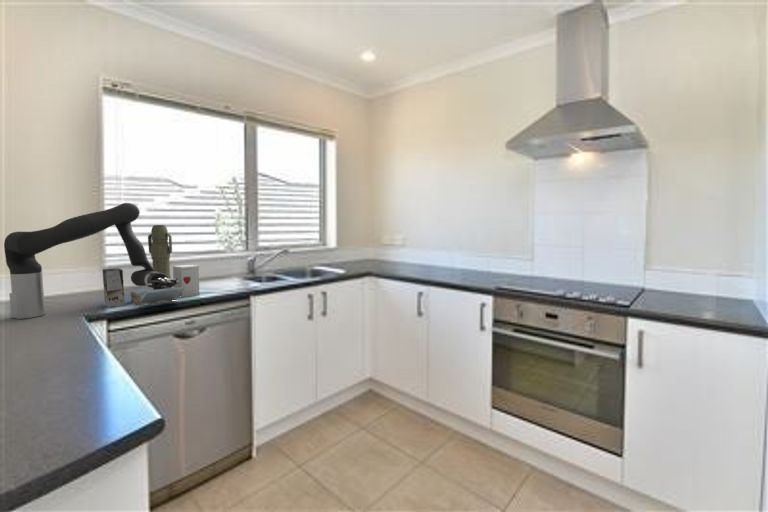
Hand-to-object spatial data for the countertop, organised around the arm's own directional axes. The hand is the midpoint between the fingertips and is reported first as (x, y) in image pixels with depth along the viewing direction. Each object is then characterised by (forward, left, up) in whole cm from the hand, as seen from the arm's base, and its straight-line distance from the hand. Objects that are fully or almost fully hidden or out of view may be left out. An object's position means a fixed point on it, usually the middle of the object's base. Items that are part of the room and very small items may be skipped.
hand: (170, 284), depth 166 cm
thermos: (+26, +46, -11) cm, 54 cm away
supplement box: (+23, +22, -11) cm, 34 cm away
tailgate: (+4, +16, -8) cm, 19 cm away
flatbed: (+6, +22, -11) cm, 25 cm away
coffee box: (-7, +30, -11) cm, 33 cm away
